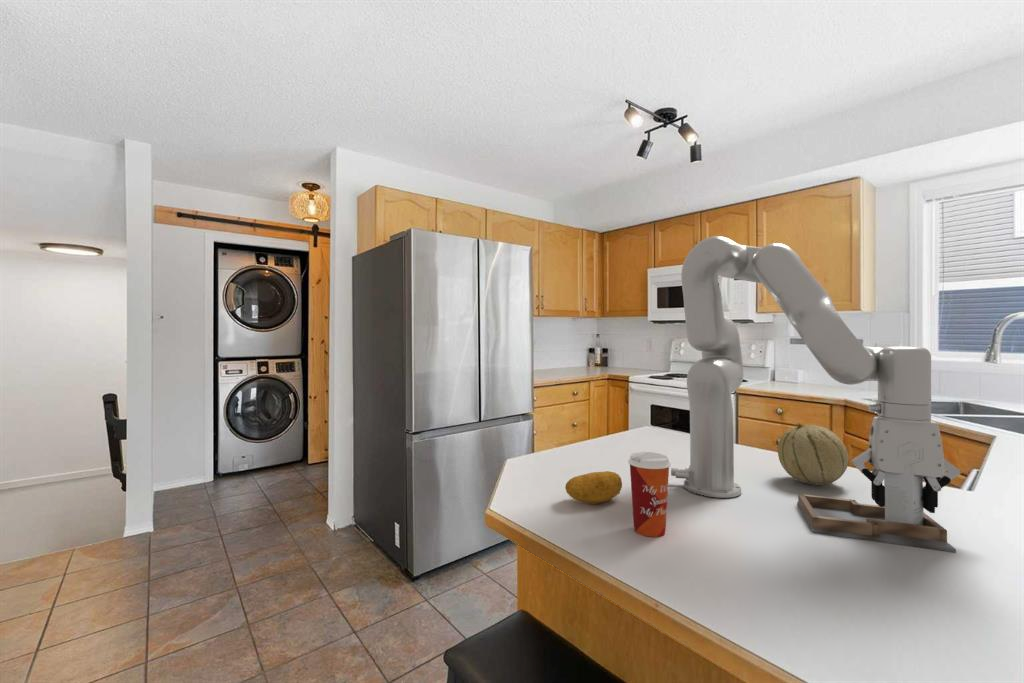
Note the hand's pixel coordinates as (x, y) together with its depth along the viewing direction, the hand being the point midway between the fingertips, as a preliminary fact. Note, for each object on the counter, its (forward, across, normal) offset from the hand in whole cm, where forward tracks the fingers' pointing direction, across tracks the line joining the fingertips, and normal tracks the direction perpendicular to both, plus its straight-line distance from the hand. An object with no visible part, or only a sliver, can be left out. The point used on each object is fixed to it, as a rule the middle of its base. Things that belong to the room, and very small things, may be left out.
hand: (903, 506), depth 83 cm
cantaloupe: (+5, -10, +26) cm, 28 cm away
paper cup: (+5, -44, -19) cm, 48 cm away
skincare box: (+4, 0, 0) cm, 4 cm away
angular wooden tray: (+4, -6, 0) cm, 7 cm away
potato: (+5, -57, -8) cm, 57 cm away
